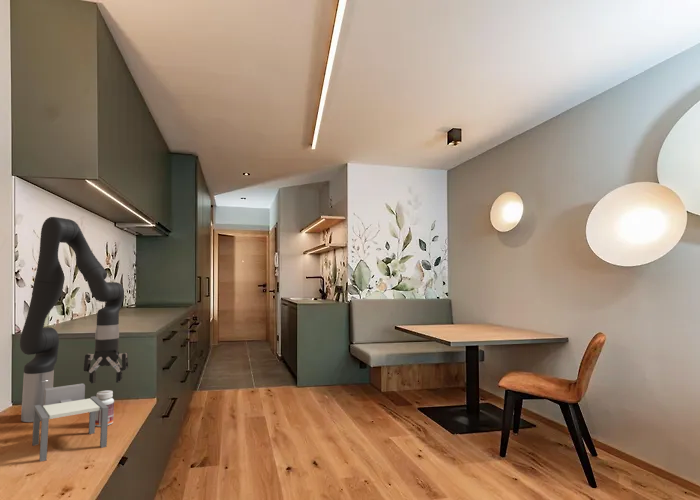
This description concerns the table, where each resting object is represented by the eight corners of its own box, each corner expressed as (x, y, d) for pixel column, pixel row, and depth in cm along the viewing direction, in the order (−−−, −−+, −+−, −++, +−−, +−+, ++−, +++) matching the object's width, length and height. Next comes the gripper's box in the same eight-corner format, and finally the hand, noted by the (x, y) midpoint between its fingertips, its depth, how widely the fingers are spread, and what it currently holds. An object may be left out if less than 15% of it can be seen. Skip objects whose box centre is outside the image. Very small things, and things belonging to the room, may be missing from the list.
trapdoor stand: (32, 444, 136) (34, 405, 137) (93, 431, 148) (95, 396, 149) (40, 461, 124) (42, 418, 125) (106, 446, 135) (108, 407, 136)
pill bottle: (116, 421, 159) (117, 389, 159) (107, 427, 153) (109, 394, 153) (99, 421, 159) (100, 389, 159) (89, 427, 152) (91, 394, 153)
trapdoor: (40, 404, 141) (40, 389, 142) (85, 397, 150) (86, 382, 150) (49, 419, 127) (50, 401, 128) (99, 410, 136) (100, 394, 136)
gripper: (131, 335, 162) (130, 379, 161) (91, 336, 160) (89, 380, 159) (124, 338, 155) (122, 384, 154) (81, 339, 153) (79, 385, 152)
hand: (105, 382), depth 157 cm, fingers open, 8 cm apart
